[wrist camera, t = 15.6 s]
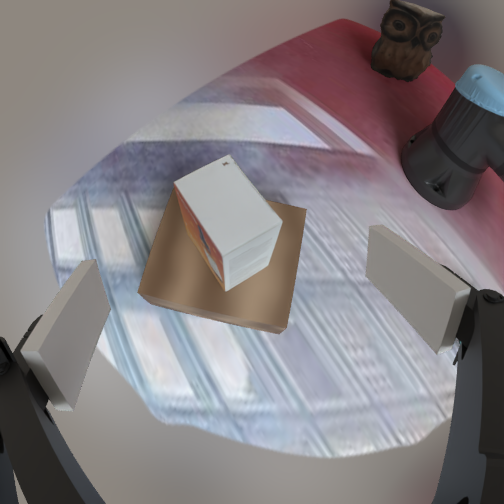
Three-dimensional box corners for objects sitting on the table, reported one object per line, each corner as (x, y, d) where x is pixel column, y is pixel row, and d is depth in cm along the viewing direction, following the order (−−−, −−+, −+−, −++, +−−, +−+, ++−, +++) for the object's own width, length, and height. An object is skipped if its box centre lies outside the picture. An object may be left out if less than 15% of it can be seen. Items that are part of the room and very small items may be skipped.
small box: (186, 234, 35) (170, 180, 25) (229, 210, 36) (228, 151, 26) (225, 294, 32) (220, 257, 22) (269, 266, 34) (284, 220, 24)
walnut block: (297, 231, 42) (306, 209, 36) (278, 334, 37) (286, 327, 31) (182, 207, 43) (175, 182, 37) (151, 304, 37) (137, 292, 32)
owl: (423, 80, 59) (454, 19, 41) (401, 92, 56) (435, 21, 37) (383, 51, 62) (406, -10, 44) (356, 61, 59) (380, -10, 40)
